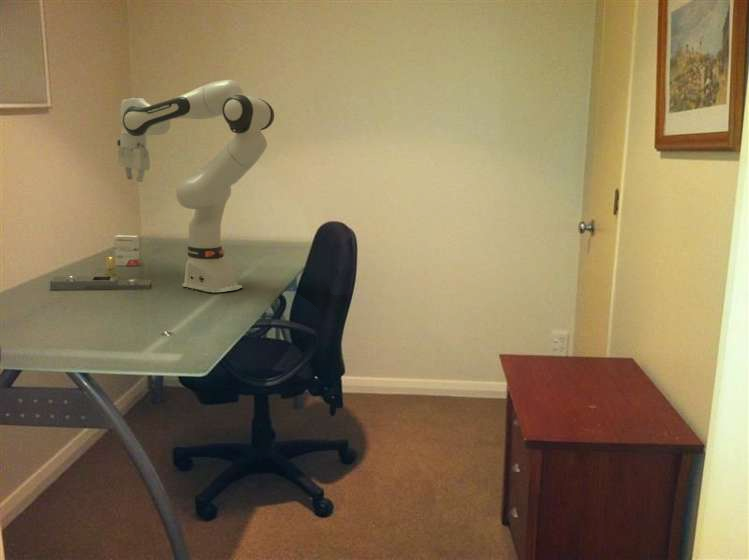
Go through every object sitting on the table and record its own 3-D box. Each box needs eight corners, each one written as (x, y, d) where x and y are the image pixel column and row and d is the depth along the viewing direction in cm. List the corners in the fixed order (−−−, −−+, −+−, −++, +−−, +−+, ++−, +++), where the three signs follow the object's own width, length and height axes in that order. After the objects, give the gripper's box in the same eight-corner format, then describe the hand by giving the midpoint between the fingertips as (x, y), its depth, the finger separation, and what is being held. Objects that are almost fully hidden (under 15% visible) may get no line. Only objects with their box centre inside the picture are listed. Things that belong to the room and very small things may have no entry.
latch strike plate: (151, 283, 251) (150, 272, 250) (149, 289, 243) (149, 277, 242) (54, 284, 243) (54, 273, 242) (50, 290, 235) (49, 278, 234)
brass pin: (118, 278, 256) (117, 257, 254) (109, 280, 254) (108, 258, 252) (113, 276, 259) (112, 255, 257) (104, 278, 256) (103, 256, 254)
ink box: (140, 263, 283) (139, 235, 280) (137, 266, 278) (136, 237, 276) (118, 263, 282) (117, 234, 279) (114, 265, 277) (113, 236, 275)
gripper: (154, 144, 249) (154, 183, 253) (131, 141, 264) (132, 177, 268) (136, 144, 245) (137, 183, 249) (114, 140, 260) (115, 178, 263)
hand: (134, 180), depth 258 cm, fingers open, 8 cm apart
